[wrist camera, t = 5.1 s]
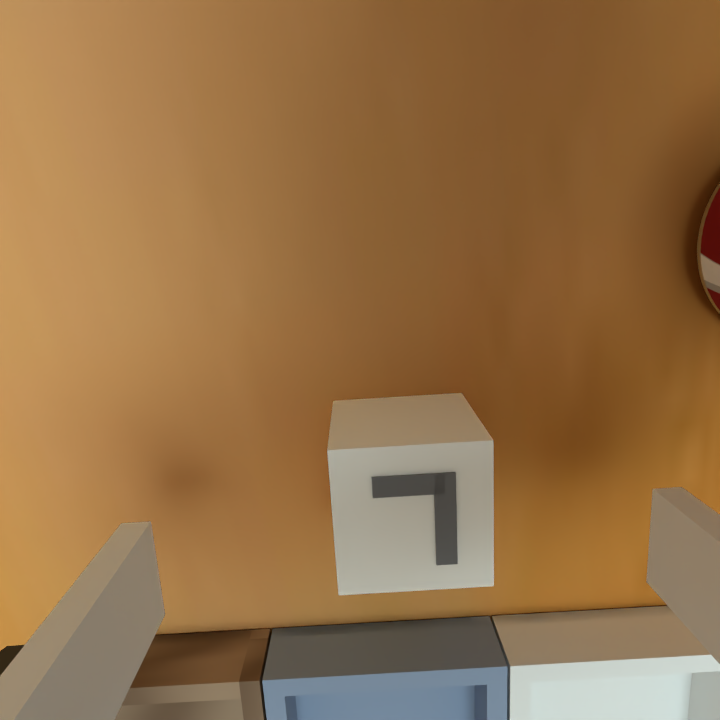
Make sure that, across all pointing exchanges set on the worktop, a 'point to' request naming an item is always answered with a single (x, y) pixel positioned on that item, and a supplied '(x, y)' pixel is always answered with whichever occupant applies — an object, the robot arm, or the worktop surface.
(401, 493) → the letter cube
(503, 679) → the blue square tray
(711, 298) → the soda can
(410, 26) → the worktop surface
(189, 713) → the bin walnut
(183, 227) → the worktop surface
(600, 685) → the bin white
